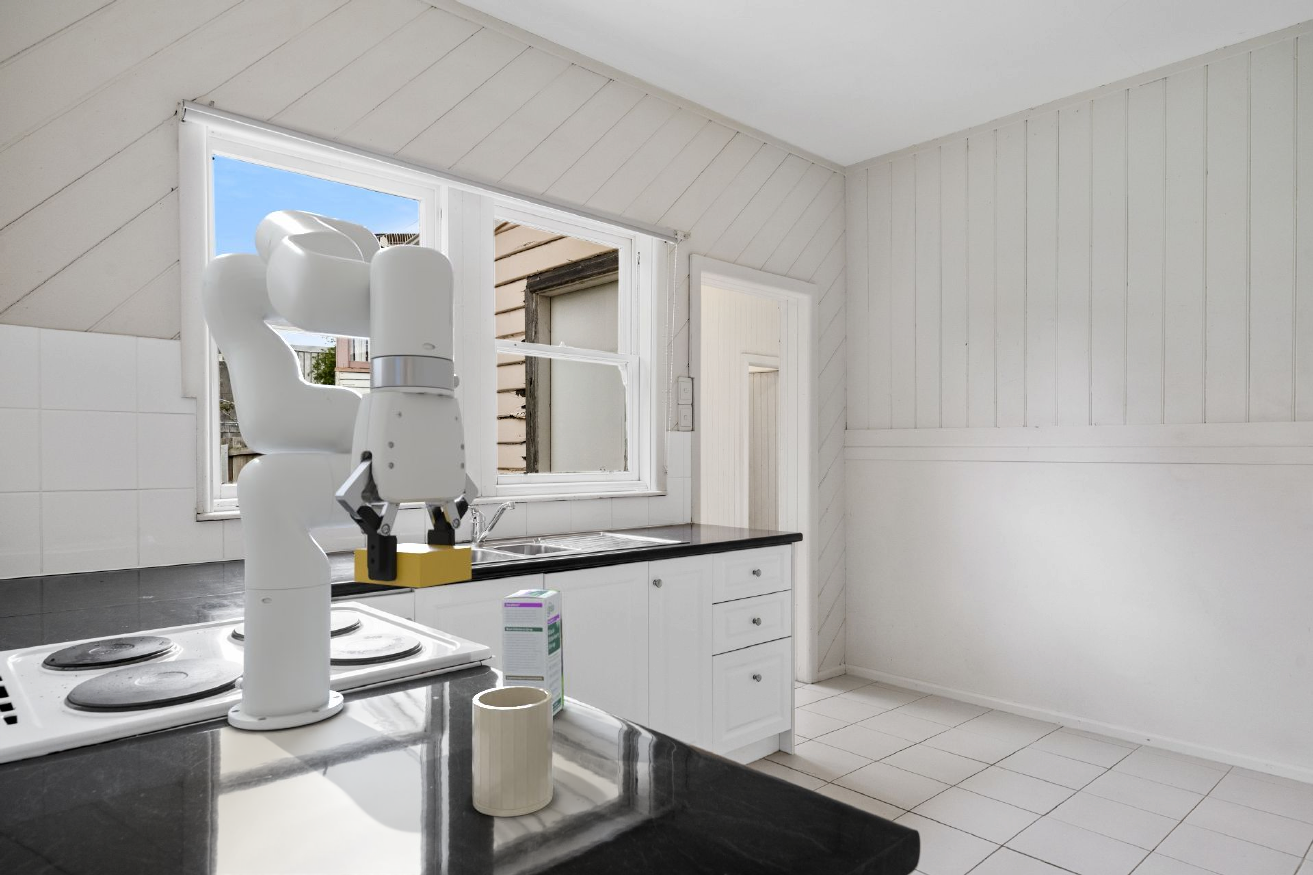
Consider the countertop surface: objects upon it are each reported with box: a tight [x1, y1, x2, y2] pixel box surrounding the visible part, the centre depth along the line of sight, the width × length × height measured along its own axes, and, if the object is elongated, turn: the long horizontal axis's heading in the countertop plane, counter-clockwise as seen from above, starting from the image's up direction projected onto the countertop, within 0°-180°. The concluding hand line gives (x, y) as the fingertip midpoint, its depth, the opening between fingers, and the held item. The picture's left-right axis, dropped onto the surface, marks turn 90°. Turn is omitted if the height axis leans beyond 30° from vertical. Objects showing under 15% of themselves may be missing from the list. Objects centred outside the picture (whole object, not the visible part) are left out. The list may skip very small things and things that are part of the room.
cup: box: [471, 686, 554, 818], centre depth 68 cm, size 7×7×9 cm
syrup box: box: [500, 588, 565, 717], centre depth 91 cm, size 6×6×14 cm
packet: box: [353, 543, 472, 589], centre depth 70 cm, size 9×6×3 cm, turn 58°
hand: (413, 573), depth 70 cm, fingers closed on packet, 6 cm apart
